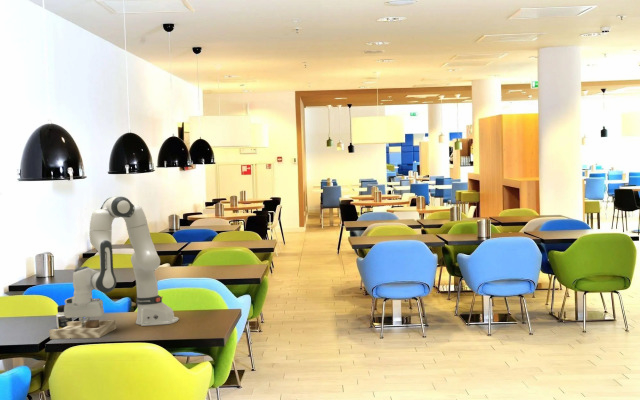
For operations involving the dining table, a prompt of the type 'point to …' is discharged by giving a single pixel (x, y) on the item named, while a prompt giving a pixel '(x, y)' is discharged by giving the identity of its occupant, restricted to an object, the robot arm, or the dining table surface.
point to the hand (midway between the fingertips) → (84, 325)
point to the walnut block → (92, 324)
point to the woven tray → (82, 330)
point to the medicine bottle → (61, 318)
